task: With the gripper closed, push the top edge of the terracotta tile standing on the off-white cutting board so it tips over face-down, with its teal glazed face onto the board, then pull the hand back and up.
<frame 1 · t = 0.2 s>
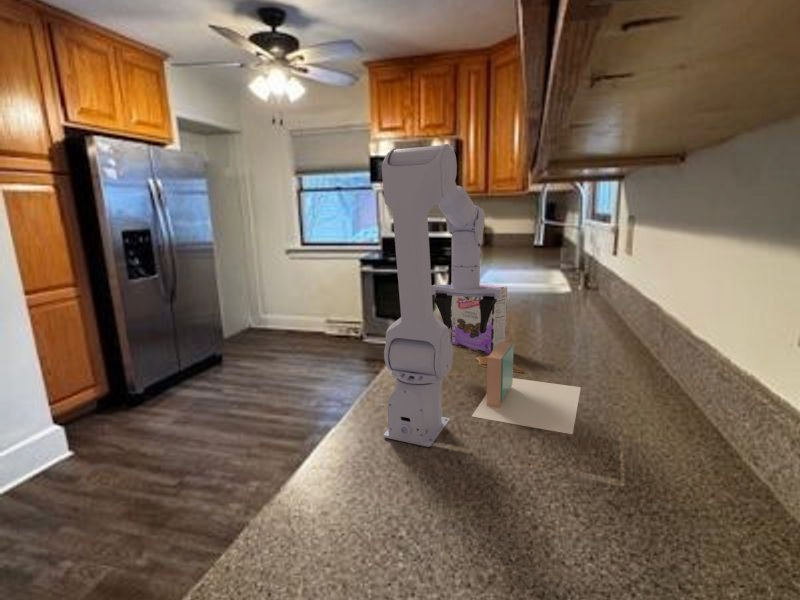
hand: (465, 330, 94), 10 cm above the worktop, fingers open, 7 cm apart
shard: (501, 369, 101), on the worktop
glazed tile: (499, 396, 84), point 1 cm above the worktop, touching cutting board
cutting board: (529, 403, 81), on the worktop
candy box: (477, 347, 115), on the worktop
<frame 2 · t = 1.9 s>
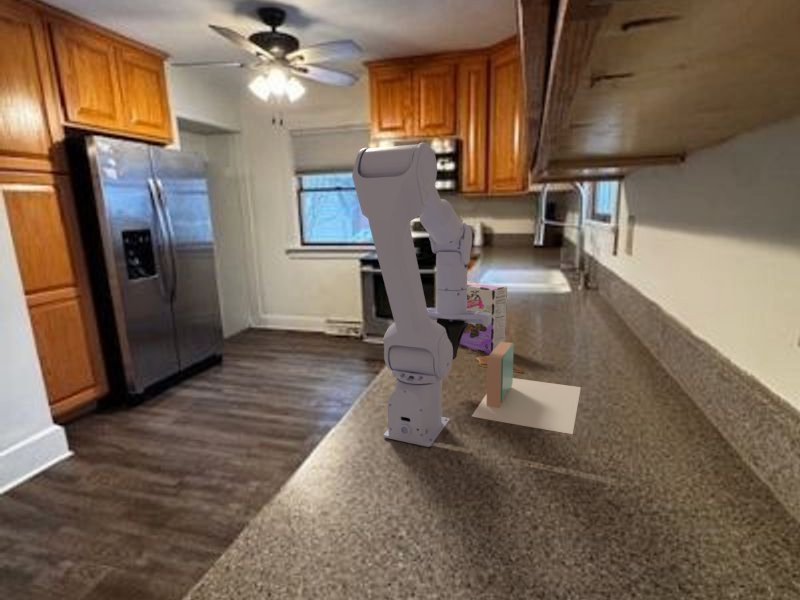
hand: (451, 357, 86), 7 cm above the worktop, fingers closed
nothing on the worktop moved.
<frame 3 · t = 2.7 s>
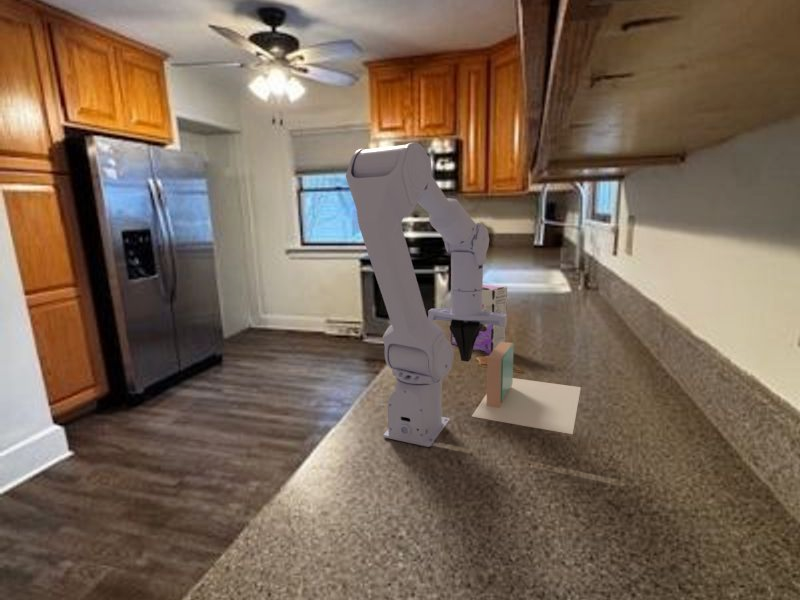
hand: (466, 359, 85), 7 cm above the worktop, fingers closed
nothing on the worktop moved.
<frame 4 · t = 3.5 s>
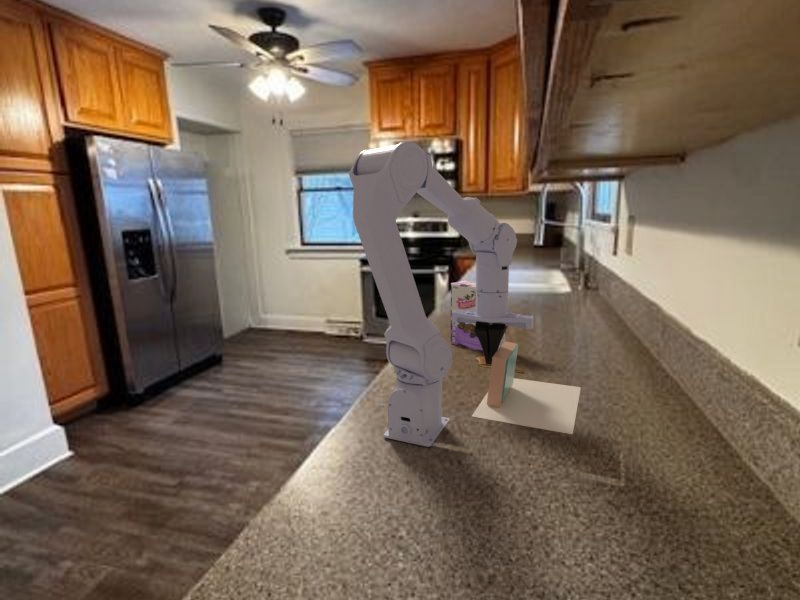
hand: (490, 362, 83), 7 cm above the worktop, fingers closed
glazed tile: (499, 395, 83), point 1 cm above the worktop, tilted 6°, touching cutting board
everything else where it was.
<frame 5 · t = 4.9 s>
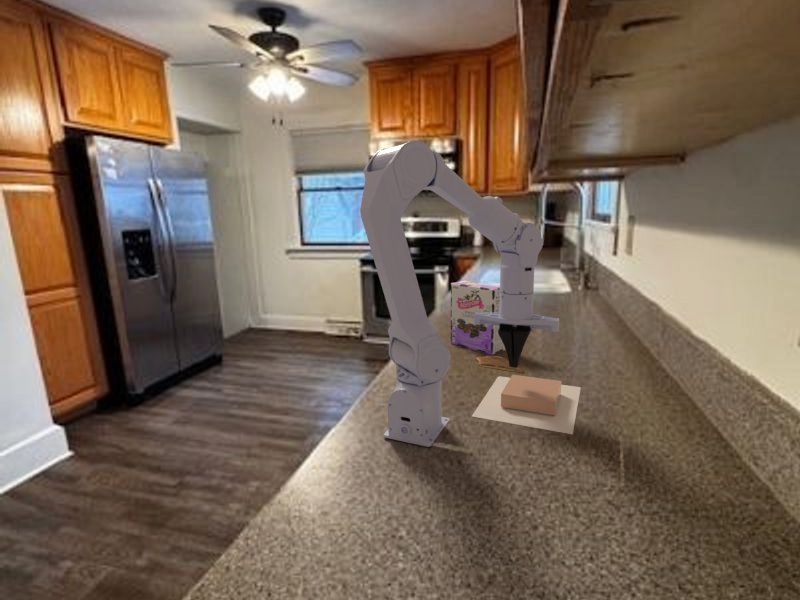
hand: (514, 365, 81), 7 cm above the worktop, fingers closed
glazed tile: (506, 389, 83), point 2 cm above the worktop, tilted 90°, touching cutting board
everything else where it was.
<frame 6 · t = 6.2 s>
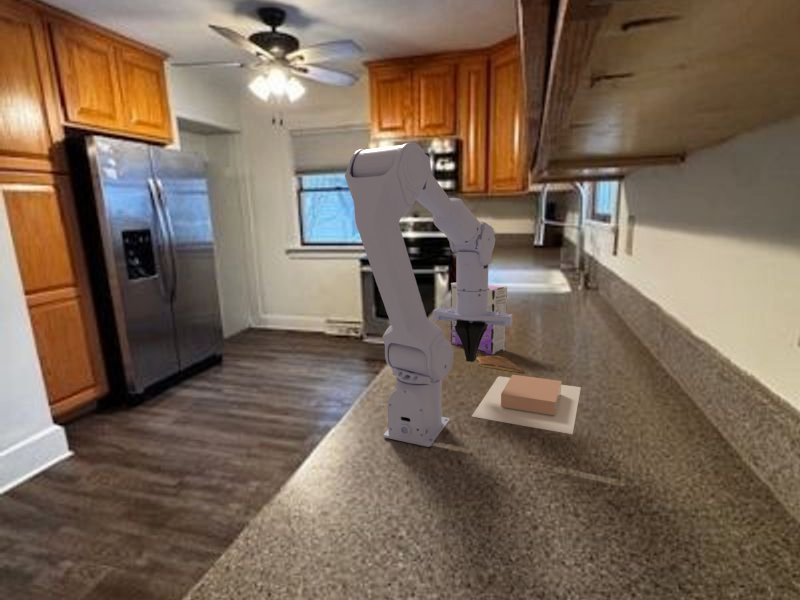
hand: (471, 360, 85), 7 cm above the worktop, fingers closed
nothing on the worktop moved.
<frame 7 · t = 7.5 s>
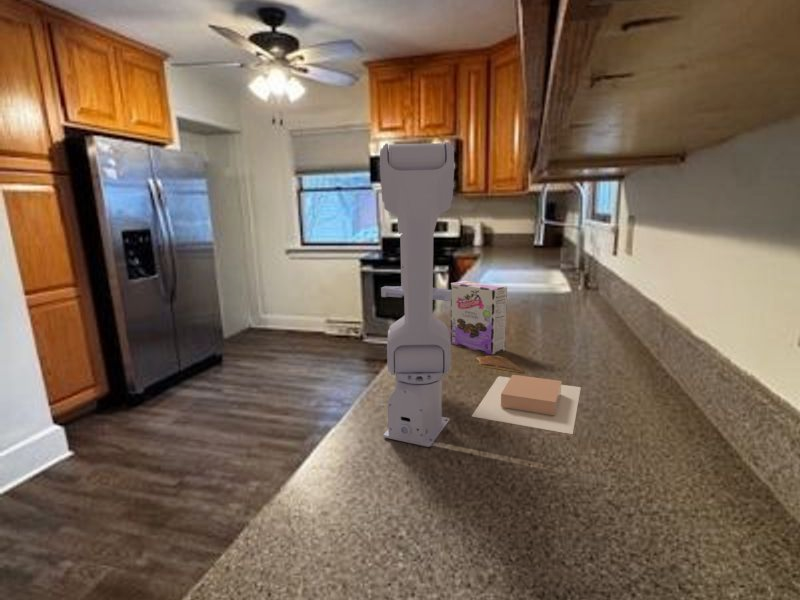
hand: (416, 333, 91), 10 cm above the worktop, fingers closed
nothing on the worktop moved.
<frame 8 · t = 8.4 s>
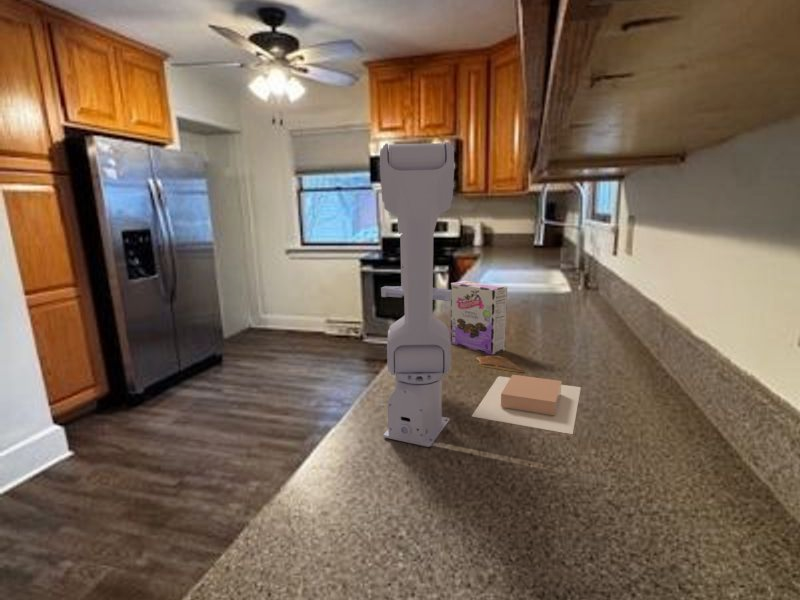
hand: (416, 333, 91), 10 cm above the worktop, fingers closed
nothing on the worktop moved.
at the end: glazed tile tilted 90°; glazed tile touching cutting board; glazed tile inside the target area (0.4 cm from its centre), point 2.0 cm above the worktop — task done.
